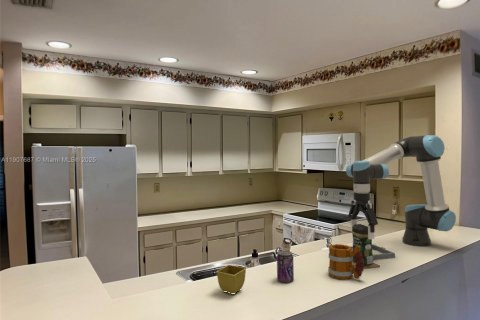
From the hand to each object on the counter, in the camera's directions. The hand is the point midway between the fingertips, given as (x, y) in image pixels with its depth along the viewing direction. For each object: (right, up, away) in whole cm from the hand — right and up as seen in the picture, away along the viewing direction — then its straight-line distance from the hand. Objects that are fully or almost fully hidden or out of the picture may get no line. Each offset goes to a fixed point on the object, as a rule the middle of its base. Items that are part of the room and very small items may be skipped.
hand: (362, 235), depth 157 cm
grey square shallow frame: (+10, -14, +16) cm, 23 cm away
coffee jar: (0, -14, 0) cm, 14 cm away
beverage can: (-40, -15, -18) cm, 46 cm away
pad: (0, -14, 0) cm, 14 cm away
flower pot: (-63, -16, -29) cm, 71 cm away
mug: (-13, -15, -15) cm, 25 cm away
